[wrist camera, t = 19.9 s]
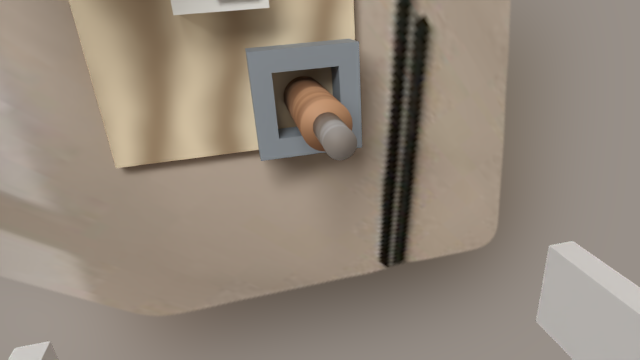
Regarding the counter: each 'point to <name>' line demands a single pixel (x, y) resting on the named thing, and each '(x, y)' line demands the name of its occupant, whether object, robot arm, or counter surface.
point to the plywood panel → (192, 71)
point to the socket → (293, 58)
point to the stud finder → (215, 5)
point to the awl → (320, 118)
